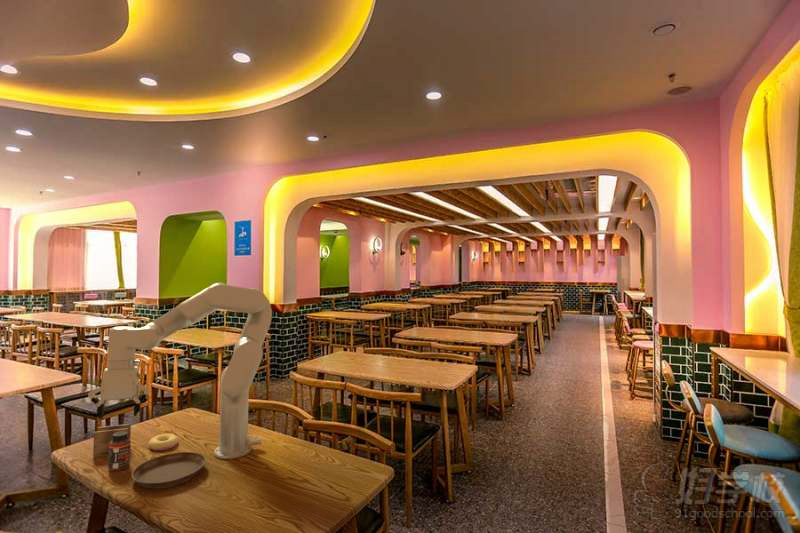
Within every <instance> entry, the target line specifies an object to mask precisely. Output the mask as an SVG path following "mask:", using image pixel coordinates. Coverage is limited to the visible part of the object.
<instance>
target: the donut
mask: <svg viewBox="0 0 800 533" xmlns="http://www.w3.org/2000/svg"><path fill="white" fill-rule="evenodd" d="M178 441H179V438H178V436H177V435H175V434H173V433H161V434H158V435H156V436H153V437H152V438H151V439H150V440H149V442H148V447H149V449H151V450H152V451H156V452H159V451H166V450H169V449H172V448H174V447H175V446H176V445H177V444H178Z"/></svg>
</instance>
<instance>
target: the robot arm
mask: <svg viewBox="0 0 800 533" xmlns="http://www.w3.org/2000/svg"><path fill="white" fill-rule="evenodd" d="M218 310H226V311H230V312H231V311H232V312H240V313H247V319H246V321H245V323H244V326H243V329H242V331H241V333H240V336H239V337H238V340H236V341H237V342H236V343H235V345H234V347H233V354H232V356H231V359H230V361H229V363H228V365H227V366H226V367H225V368H224V369H223V370H222V371H221V375H220V398H219V399H220V403H219V404H220V405H219V436H218V437H219V440H218V441H219V442H218V443H219V444H218V446H217V447H216V448H214V456H215V457H216V458H218V459H220V460H221V459H222V460H234V459H238V458H242V457H244V456H246V455H248V454H250V453H251V451H252V450H251V449H253V448H252V446H254V445H255V446H257V445H261V442H262V441H261V438H257V436H256V437H249V434H248V432H249V426H248V425H249V397H250V396H249V393H250V392H249V389H250V387H251V385H252V383H253V380H254V378H255V376H256V374H257V371H258V369H259V367H260V364H261V361H262V359H263V355H264V354H263V353H264V352H263V345H264V341H265V339H266V337H267V334H268V331H269V329H270V326H271V323H272V317H273V310H272V307H271V303H270V301H269V298H268V297H267V295H266V294H265V293H264V292H263V291H262V290H261V289H260V288H258V287H242V286H235V285H230V284H226V283H224V282H215V283H213V284H211V285H210V286H208V287H206V288H204V289H203V290H201V291H199V292H198V293H196V294H195V295H192V296H190V297H189V298H187V299H185V300H184V301H182V302H181V303H179V304H178V305H176V306H175V307H174V308H172V309H170V310H169V311H168V312H166V313H164V314H163V315H161V316H160V317H158V318H156V319H154V320H152V321H151V322H149V323H147V324H146V325H144V326H142V327H140V328H139V327H137V328H135V327H134V326H129V325H128V326H127V325H121V326H114V327H113V326H112V327H111V328H110V329H109V331H108V343H107V344H108V346H107V365H106V366H107V367H106V368H105V369H104V371H103V374H102V380H101V385H100V386H99V387H97V388H95V389H93V390H91V391H89V392H88V393H87V396H88V398H89V400H90V401H91V403H93V405H95V406H96V408H97V409H96V410H97V411H96V416H97V417H98V420H99V419H100V420H101V419H103V418H104V416H105V404H104V402H106V401H116V400H117V401H119V400H129V399H130V400H131V399H132V401H134V402H135V403H134V405H133V416H134V417H136V416H137V415H138V414H139V413H140V412H141V402H142V401H144V400H145V399H146V398H147V396H148V395H149V393H150V391H151V388H150V387H148V386H146V385H143V384H140V376H139V369H138V366H136V365H139V364H140V363H141V360H140V359H137V358H136V350H144V351H145V350H146V351H148V350H152V349H154V348H156V347H157V346H158V345H159V344H160V343H161V342H162V341H163V340H165V339H166V338H169V337H170V336H172V335H173V334H175V333H177V332H178V331H180V330H181V329H184V328H186V327H189V326H193V325H195V324H197V323H198V322H200V321H201V320H203V319H204V318H206V317H208V316H209V315H211V314H213V313H215V312H216V311H218ZM139 391H143V394H142V395H141V396H140V395H139ZM98 393H100V396H99V397H100V398H98V397H97V396H96V394H98Z"/></svg>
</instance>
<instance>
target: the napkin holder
mask: <svg viewBox="0 0 800 533" xmlns="http://www.w3.org/2000/svg"><path fill="white" fill-rule="evenodd" d="M131 428H132V426H131V423H127V424H126V423H124V424H116V425H107V426H98V427H97V430H96V431H94V432H93V451H92V452H93V454H92V455H93V458H98V457H105V456H106V457H107V456H109V443H110V442H111V441H112V440H113V434H115V433H117V432H122V431H125V432H127V435H128V436H127V437H128V438H130V439H131V435H132V434H131V430H132V429H131Z"/></svg>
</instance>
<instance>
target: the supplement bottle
mask: <svg viewBox="0 0 800 533" xmlns="http://www.w3.org/2000/svg"><path fill="white" fill-rule="evenodd" d="M127 436H128V435H127V432H125V431H122V432H117V433H115V434H113V440H112V441H111V442H110V443H109V455H108V460H107V462H108V463H107V464H108V465H107V466H108V467H107V469H108V470H109V471H111V472H118V471H119V472H120V471H124V470H126V469H127V468H129V467H130V464H131V437H130V438H128V437H127Z"/></svg>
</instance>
